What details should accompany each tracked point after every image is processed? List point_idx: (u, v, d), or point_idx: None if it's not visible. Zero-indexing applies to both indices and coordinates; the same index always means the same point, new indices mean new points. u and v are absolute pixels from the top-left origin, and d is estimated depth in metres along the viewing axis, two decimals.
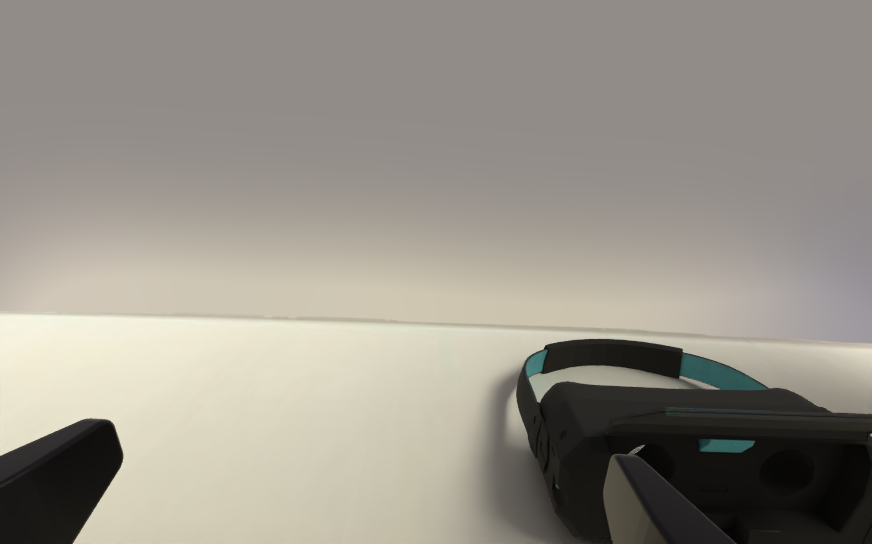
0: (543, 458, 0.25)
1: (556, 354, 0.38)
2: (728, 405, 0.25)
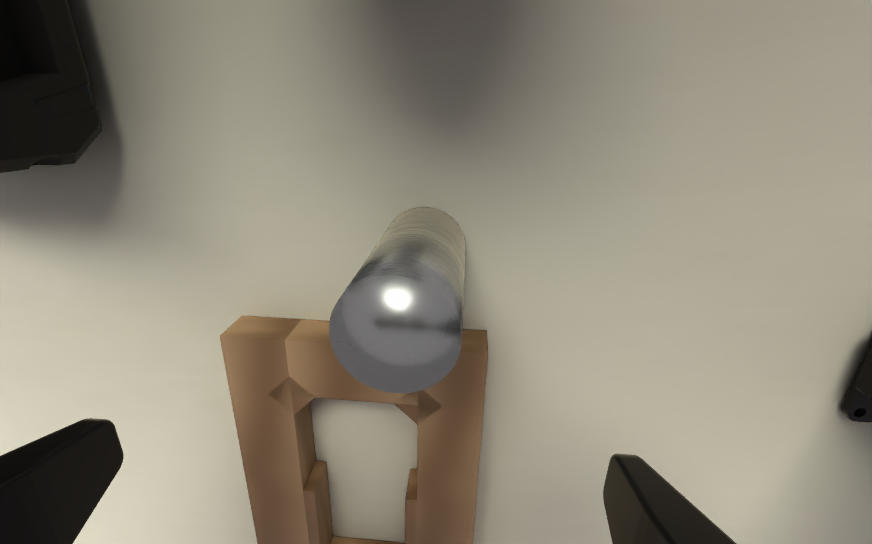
0: None
1: None
2: None
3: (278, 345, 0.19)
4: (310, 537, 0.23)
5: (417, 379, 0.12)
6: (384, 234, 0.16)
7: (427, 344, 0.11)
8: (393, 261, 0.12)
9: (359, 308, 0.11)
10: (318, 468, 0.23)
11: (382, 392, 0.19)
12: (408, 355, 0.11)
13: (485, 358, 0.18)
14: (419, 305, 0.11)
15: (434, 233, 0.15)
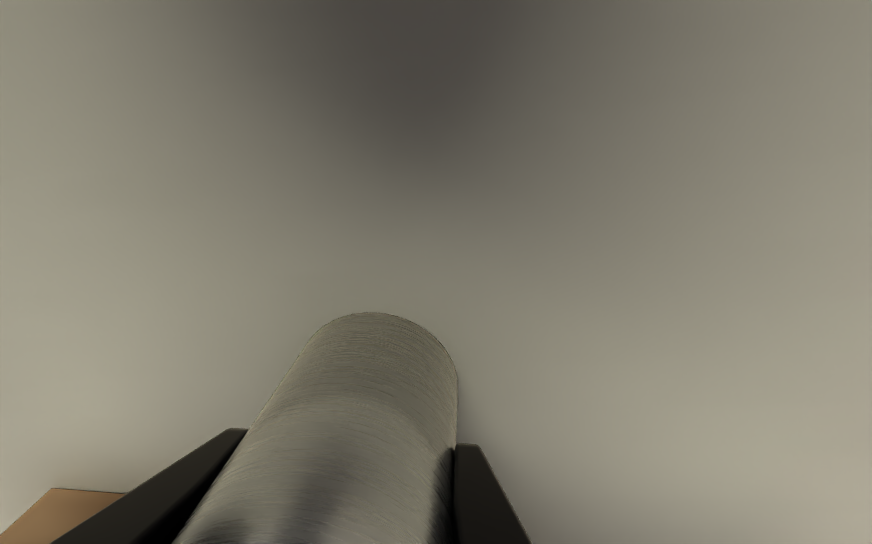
0: None
1: None
2: None
3: None
4: None
5: None
6: (268, 401, 0.07)
7: None
8: None
9: None
10: None
11: None
12: None
13: None
14: None
15: (370, 446, 0.05)
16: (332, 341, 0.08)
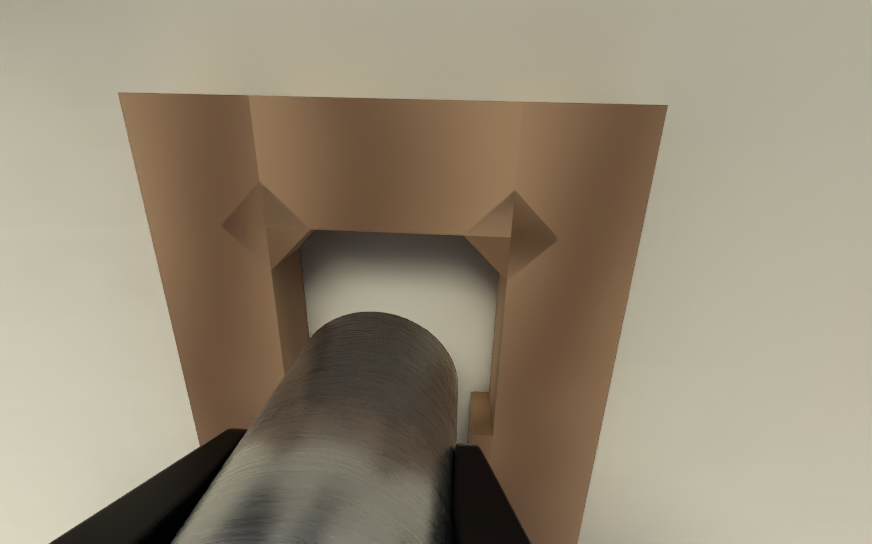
0: None
1: None
2: None
3: (236, 109, 0.09)
4: None
5: None
6: (267, 401, 0.07)
7: None
8: None
9: None
10: None
11: (442, 211, 0.10)
12: None
13: (660, 118, 0.09)
14: None
15: (370, 445, 0.05)
16: (332, 340, 0.08)
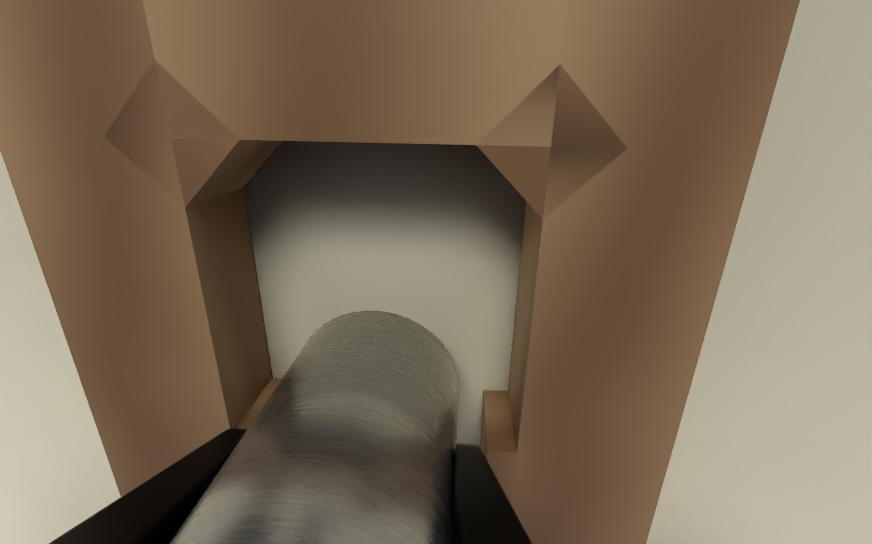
0: None
1: None
2: None
3: None
4: None
5: None
6: (268, 400, 0.07)
7: None
8: None
9: None
10: None
11: (443, 104, 0.06)
12: None
13: None
14: None
15: (370, 444, 0.05)
16: (332, 339, 0.08)
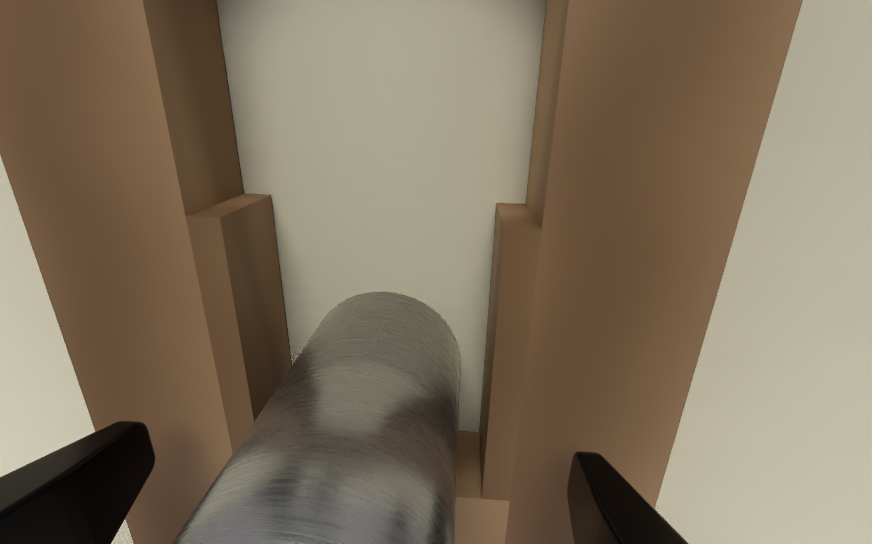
0: None
1: None
2: None
3: None
4: (224, 384, 0.08)
5: None
6: (292, 367, 0.08)
7: None
8: None
9: None
10: (246, 199, 0.09)
11: None
12: None
13: None
14: None
15: (385, 396, 0.06)
16: (347, 315, 0.09)
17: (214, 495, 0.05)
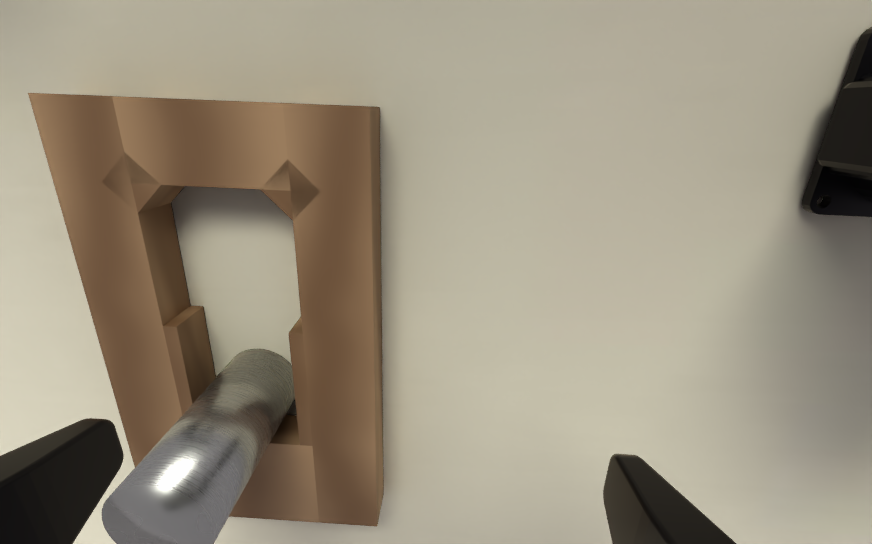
0: None
1: None
2: None
3: (105, 105, 0.15)
4: (180, 393, 0.19)
5: None
6: (208, 386, 0.19)
7: (185, 532, 0.14)
8: (161, 459, 0.14)
9: (123, 507, 0.13)
10: (190, 310, 0.19)
11: (244, 173, 0.15)
12: (171, 540, 0.14)
13: (367, 114, 0.14)
14: (172, 506, 0.13)
15: (237, 398, 0.17)
16: (237, 362, 0.20)
17: (170, 430, 0.16)
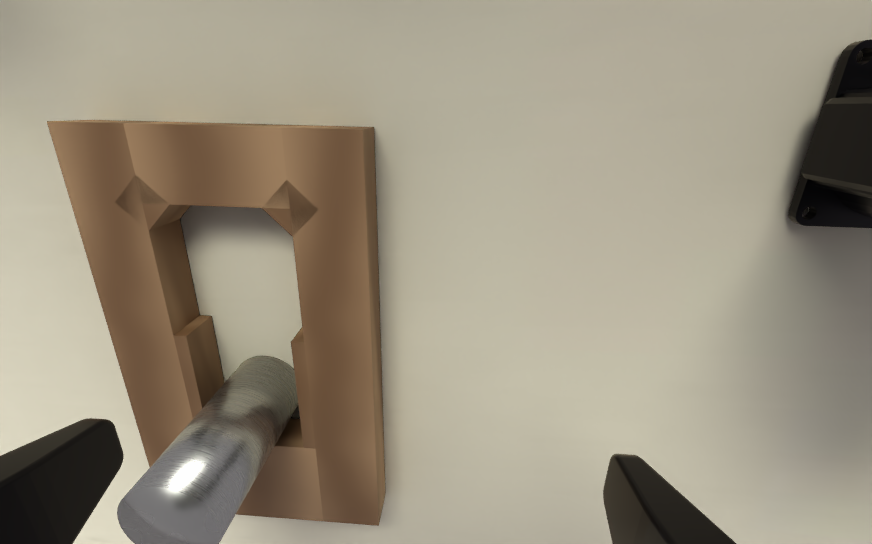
0: None
1: None
2: None
3: (117, 131, 0.16)
4: (190, 398, 0.20)
5: None
6: None
7: (194, 531, 0.15)
8: (171, 463, 0.15)
9: (137, 507, 0.14)
10: (199, 320, 0.20)
11: (246, 192, 0.16)
12: (181, 538, 0.15)
13: (360, 137, 0.15)
14: (181, 507, 0.14)
15: (243, 404, 0.18)
16: (243, 368, 0.20)
17: (180, 434, 0.17)
